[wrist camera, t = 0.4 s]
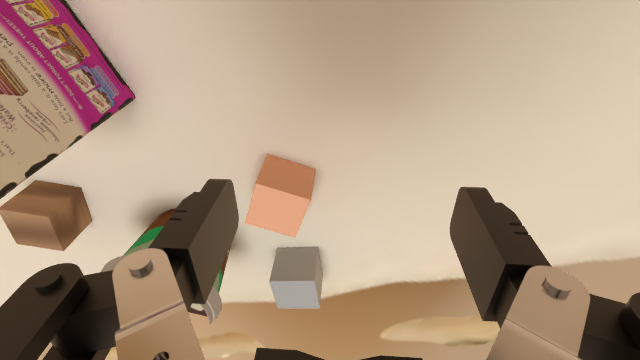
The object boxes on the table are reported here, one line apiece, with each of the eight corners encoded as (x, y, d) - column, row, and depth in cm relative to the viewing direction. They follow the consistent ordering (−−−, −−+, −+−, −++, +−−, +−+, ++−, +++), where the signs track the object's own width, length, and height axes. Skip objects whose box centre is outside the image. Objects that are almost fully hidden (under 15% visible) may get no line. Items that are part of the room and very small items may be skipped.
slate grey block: (277, 247, 40) (269, 281, 36) (318, 246, 40) (314, 280, 36) (284, 274, 43) (277, 308, 39) (322, 273, 42) (319, 308, 38)
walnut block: (36, 179, 37) (-3, 209, 33) (81, 187, 37) (48, 217, 33) (50, 213, 40) (16, 243, 36) (92, 219, 40) (63, 251, 36)
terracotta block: (267, 153, 33) (255, 183, 29) (315, 168, 33) (310, 200, 29) (256, 191, 35) (244, 223, 31) (301, 204, 36) (295, 237, 32)
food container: (250, 217, 38) (223, 293, 29) (241, 252, 41) (215, 328, 33) (140, 186, 36) (80, 257, 28) (141, 225, 40) (87, 297, 31)
